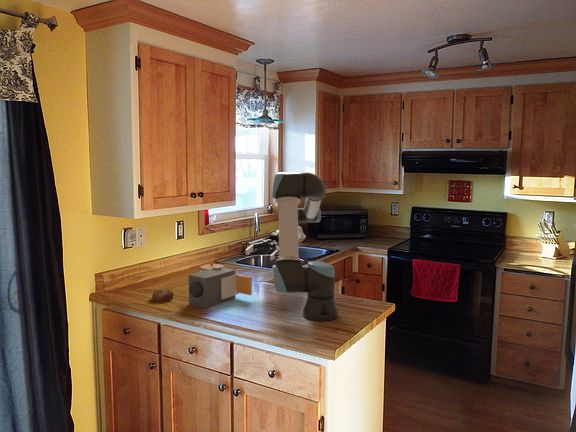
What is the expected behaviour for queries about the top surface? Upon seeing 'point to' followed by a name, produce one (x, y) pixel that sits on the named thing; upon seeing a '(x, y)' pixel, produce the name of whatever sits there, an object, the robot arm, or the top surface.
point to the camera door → (235, 285)
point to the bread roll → (162, 294)
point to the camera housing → (208, 287)
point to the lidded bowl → (209, 266)
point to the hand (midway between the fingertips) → (258, 255)
